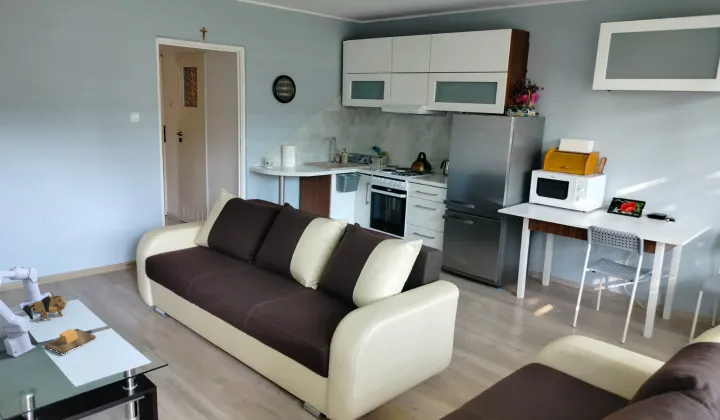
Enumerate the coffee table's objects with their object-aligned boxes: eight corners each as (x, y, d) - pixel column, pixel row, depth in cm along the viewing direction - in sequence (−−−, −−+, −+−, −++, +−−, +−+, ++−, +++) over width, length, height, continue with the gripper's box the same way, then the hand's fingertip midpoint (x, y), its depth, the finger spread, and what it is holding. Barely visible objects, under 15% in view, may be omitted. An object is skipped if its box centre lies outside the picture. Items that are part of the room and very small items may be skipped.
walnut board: (63, 355, 236) (61, 347, 234) (45, 347, 244) (42, 339, 243) (96, 338, 248) (94, 330, 247) (77, 331, 257) (75, 323, 255)
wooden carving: (61, 302, 290) (56, 286, 287) (64, 304, 287) (60, 288, 284) (29, 315, 278) (24, 298, 275) (32, 317, 275) (27, 300, 272)
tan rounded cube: (67, 343, 242) (65, 336, 241) (61, 341, 245) (59, 334, 244) (78, 338, 246) (76, 331, 245) (72, 336, 249) (69, 328, 248)
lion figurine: (67, 310, 280) (63, 295, 277) (70, 313, 276) (66, 298, 274) (37, 321, 270) (33, 306, 268) (40, 324, 267) (35, 309, 264)
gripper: (20, 298, 244) (28, 323, 248) (51, 285, 256) (58, 310, 260) (13, 295, 248) (21, 320, 252) (44, 283, 259) (51, 307, 263)
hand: (39, 315), depth 256 cm, fingers open, 7 cm apart
